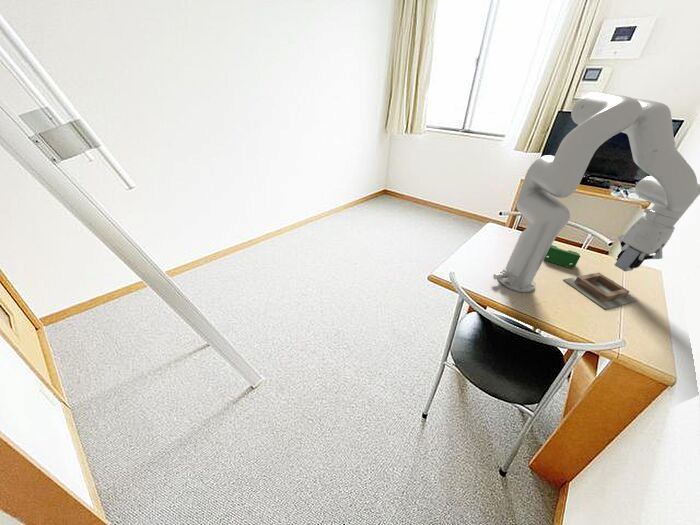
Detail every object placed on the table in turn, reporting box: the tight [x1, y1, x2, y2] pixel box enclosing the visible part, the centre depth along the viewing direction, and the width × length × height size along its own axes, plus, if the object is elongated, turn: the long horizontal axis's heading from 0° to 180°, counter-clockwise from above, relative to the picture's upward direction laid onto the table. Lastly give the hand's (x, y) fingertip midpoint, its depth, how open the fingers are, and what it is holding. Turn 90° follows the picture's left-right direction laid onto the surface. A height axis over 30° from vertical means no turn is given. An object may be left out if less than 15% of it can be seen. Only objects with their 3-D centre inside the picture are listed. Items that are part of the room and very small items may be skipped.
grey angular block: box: [614, 246, 641, 272], centre depth 107 cm, size 6×4×8 cm
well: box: [563, 272, 638, 310], centre depth 107 cm, size 16×16×3 cm
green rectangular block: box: [543, 244, 581, 269], centre depth 122 cm, size 12×6×9 cm, turn 52°
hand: (626, 263), depth 108 cm, fingers closed on grey angular block, 4 cm apart
